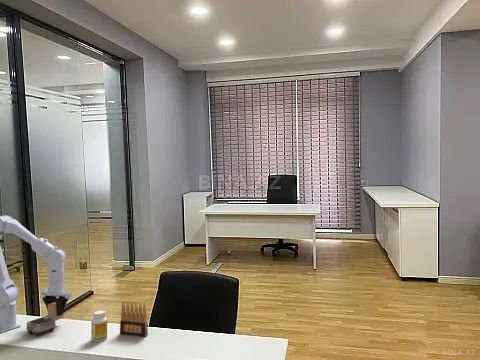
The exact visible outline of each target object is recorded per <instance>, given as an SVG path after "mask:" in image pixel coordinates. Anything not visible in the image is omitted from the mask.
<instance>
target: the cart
mask: <svg viewBox="0 0 480 360" xmlns="http://www.w3.org/2000/svg"><path fill="white" fill-rule="evenodd" d="M56 322H57V320H56V319H51V318H48V316H42V317H39V318H36V319H32V320H29V321H27V322H26V330H27V334H28V335H31V334H32V333H35V337H39V336H41V333H42V332H45V331H47V330H50V331H51V332H53V331H55V328H56Z"/></svg>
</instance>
